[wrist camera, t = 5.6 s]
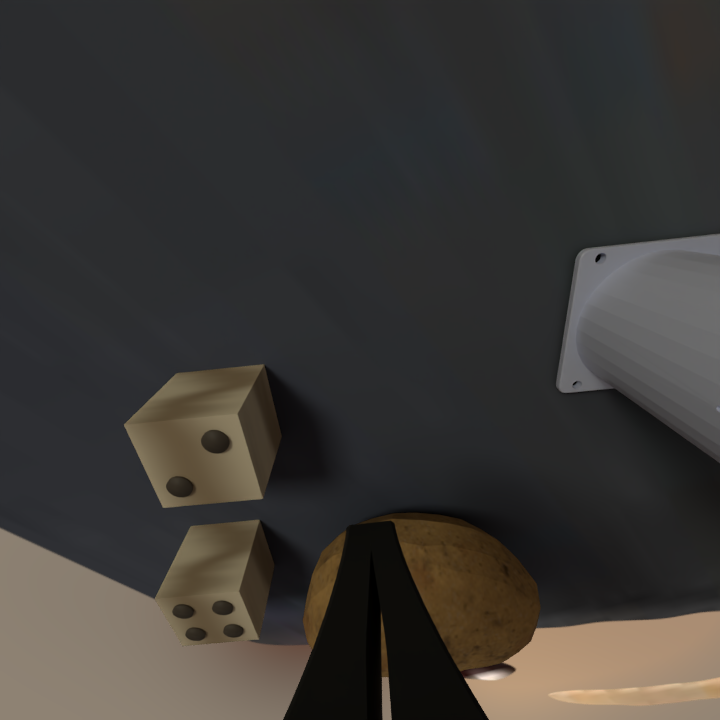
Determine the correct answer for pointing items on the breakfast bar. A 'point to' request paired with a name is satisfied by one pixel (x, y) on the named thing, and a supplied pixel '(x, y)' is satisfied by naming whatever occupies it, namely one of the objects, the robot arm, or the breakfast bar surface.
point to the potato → (449, 588)
